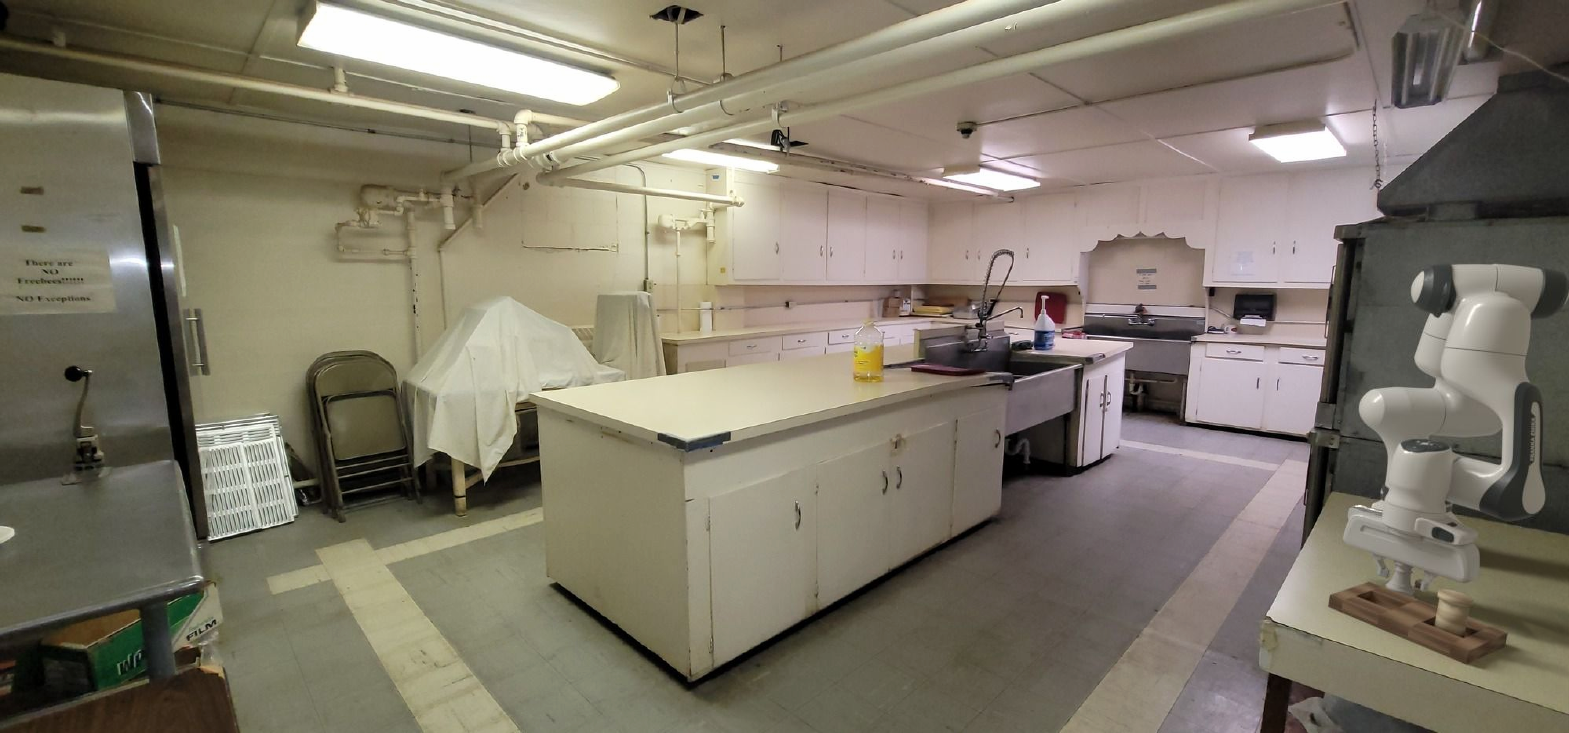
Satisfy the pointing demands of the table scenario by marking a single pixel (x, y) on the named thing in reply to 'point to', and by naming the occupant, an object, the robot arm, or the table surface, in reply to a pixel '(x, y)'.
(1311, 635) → the table surface
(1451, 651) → the pallet board
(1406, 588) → the rook chess piece
